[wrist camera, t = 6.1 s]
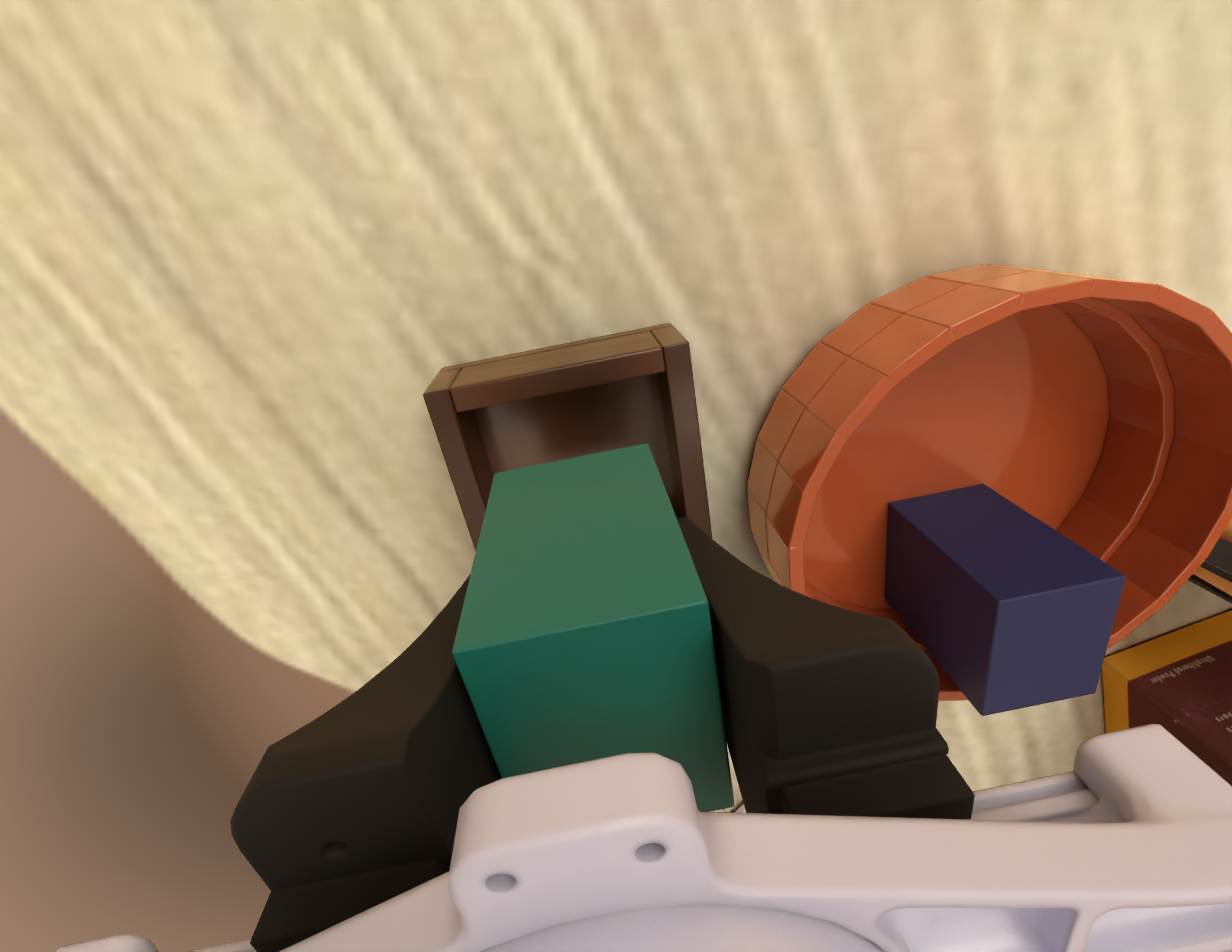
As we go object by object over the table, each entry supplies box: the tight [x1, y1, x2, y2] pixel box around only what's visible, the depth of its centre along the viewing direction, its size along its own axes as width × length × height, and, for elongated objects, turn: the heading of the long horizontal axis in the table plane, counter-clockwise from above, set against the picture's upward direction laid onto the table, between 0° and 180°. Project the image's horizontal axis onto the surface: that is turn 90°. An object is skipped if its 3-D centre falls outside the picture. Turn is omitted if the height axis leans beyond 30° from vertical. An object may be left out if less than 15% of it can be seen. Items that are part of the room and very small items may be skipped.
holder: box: [423, 323, 712, 550], centre depth 22 cm, size 8×15×3 cm, turn 10°
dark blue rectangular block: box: [884, 484, 1126, 716], centre depth 21 cm, size 4×5×6 cm
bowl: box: [747, 264, 1232, 701], centre depth 21 cm, size 15×15×5 cm
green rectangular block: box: [452, 443, 734, 812], centre depth 13 cm, size 4×5×6 cm
